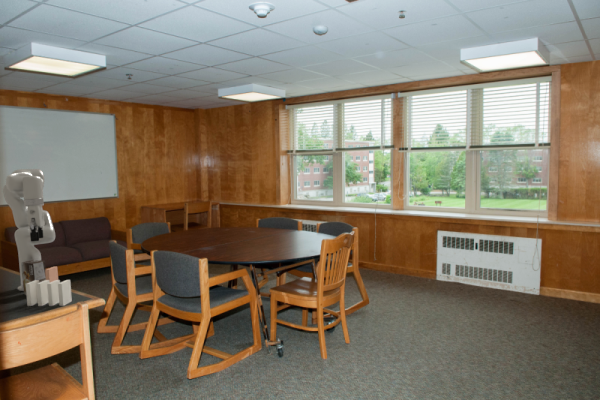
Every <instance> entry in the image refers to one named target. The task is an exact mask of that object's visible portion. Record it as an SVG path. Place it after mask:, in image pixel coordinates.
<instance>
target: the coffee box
mask: <svg viewBox="0 0 600 400" xmlns="http://www.w3.org/2000/svg"><path fill="white" fill-rule="evenodd" d="M21 266H22V277H23V287H24V291H23V293H24V295H25V296H27V294H26V284H27V283H29V282H32V281H34V280H39V283H40V282H42V281H45V280H46V275H45V270H46V269H47V268H46V267H47V266H46V261H45V260H42V259H41V260H30V261H25V262H22V263H21Z"/></svg>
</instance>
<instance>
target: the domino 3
mask: <svg viewBox="0 0 600 400" xmlns="http://www.w3.org/2000/svg"><path fill="white" fill-rule="evenodd" d="M45 275H46V280H49V282H53V281H55V280H59V272H58V266H51V267H48V268H46V270H45Z"/></svg>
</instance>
